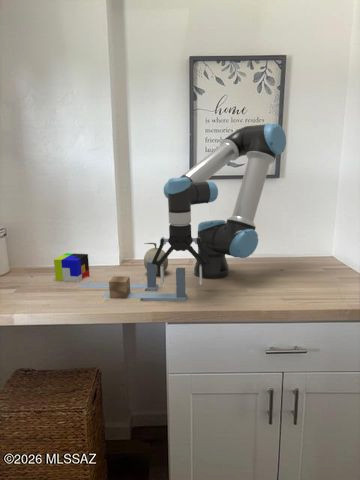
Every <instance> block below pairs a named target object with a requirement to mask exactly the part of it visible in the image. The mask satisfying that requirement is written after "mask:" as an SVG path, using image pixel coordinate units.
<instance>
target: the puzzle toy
mask: <svg viewBox="0 0 360 480" xmlns="http://www.w3.org/2000/svg"><path fill="white" fill-rule="evenodd" d="M89 263H90V262H89V254H88V253H69V252H68V253H64V254H62V255H60V256H58V257H55V258H54V259H53V264H54V265H53V267H54V276H55V281H58V282H74V283H79V282H81V280H83V279H85V278H86V277H90V265H89Z"/></svg>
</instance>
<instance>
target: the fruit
mask: <svg viewBox="0 0 360 480" xmlns="http://www.w3.org/2000/svg"><path fill="white" fill-rule="evenodd" d="M144 244H145V245H153V246H154V247H152V248H150V249H148V250H147V251H146V252H145V254H144V257H143V264H144V268H145V270H146V271H147V263H146V262H147V261H148V260H153V259H154V257H155V254H156V252H157V250H158V248H159V247H157V243H156V242H146V243H144ZM165 253H166V251H164V250H163V249H162V250H161V252H160V254H159V256H158V259H157V261H159V260H160V259H161V258H162V256H163V255H164V254H165ZM168 257H169V256H168ZM168 257H167V258H166V259H165V260H164V261H163V263H162V264H163V266H164V272H166V270H167V269H168V265H169V258H168ZM158 275H160V274H158V271H157V265H156V276H158Z"/></svg>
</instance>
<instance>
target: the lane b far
mask: <svg viewBox="0 0 360 480" xmlns="http://www.w3.org/2000/svg"><path fill="white" fill-rule="evenodd" d="M78 288H85V289H86V288H87V289H88V288H89V289H92V288H94V289H109V282H105V283H104V282H103V283H101V282H99V283H98V282H83V283H81V284H80V286H79V287H78Z"/></svg>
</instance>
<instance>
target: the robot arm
mask: <svg viewBox="0 0 360 480" xmlns="http://www.w3.org/2000/svg"><path fill="white" fill-rule="evenodd" d="M286 145H287V136H286V134H285V130H284V128H283V127H282V126H281V125H280V124H278V123H270V122H269V123H266V124H256V125H247V126H244V127H241V128H239V129H237V130H236V131H234V132H232V133H231V134H229V135H227V137H226V138H224V139H223V140H222V141H221V142H220V143H219V146H218V147H216V148H215V149H214V150H213V151H212V152H211V153H209V154H208V155H207V156H205V157H204V158H203V159H201V160H200V161H199V162H197V163H196V164H195V165H194V166H192V167H191V168H190V169H189V170H187V171H186V172H185V173H184V174H182V175H181V176H180V177H172V178H169V179H168V181H166V183H165V184H164V186H163V194H164V197H165V198H166V199H167V203H168V205H167V206H168V224H169V225H168V231H169V238H166V237H164V236H162V237H161V238H160V240H159V247H157V248H158V250H157V252H156V254H155V257H154V259H153V261H152V264H155V265H157V271H158V274H159V275H160V284H161V285H164V283H165V271H164V266H163V264H162V263H163V261H164V260H165V259H166V258H167V257H169V255H170V254H171V253H172V252H173V251H176V252H179V251H181V252H186V251H188V252H189V253H190V254H191V255H192V256H193V257H194V258H195V260H196V261H195V265H194V268H193V274H194V275H195V276H197V277H198V278H199V285H202V284H203V279H208V280H209V279H211V280H213V279H222V278H225V277H228V276H229V275H230V268H229V264H228V260H227V259H226V255H227V256H231V257H234V258H241V259H245V258H246V259H247V258H249V257H250V256H251V255H252V254H254V252H255V251H256V249H257V247H258V244H259V234H258V233H257V232H256V227H257V226H256V225H255V223H254V221H255V220H254V219H255V217H256V214H257V211H258V210H257V209H258V207H259V203H260V200H261V197H262V196H261V195H262V192H263V188H264V185H265V182H266V180H267V179H266V178H267V175H268V172H269V170H270V165H271V164H274V163H275V161H276V159H277V158H276V157H277V155H281V154H282V153H283V152H284V151H285V149H286ZM244 156H246V158H247V164H246V167H245V170H244V174H243V178H242V181H241V184H240V188H239V191H238V195H237V197H236V202H235V205H234V209H233V211H232V216H231V217H229V218H227V219H226V220H224V219H218V220H217V219H216V220H215V219H214V220H206V221H205V220H204V221H201V222H199V224H198V225H197V237H192V224H191V222H192V209H191V208H192V206H194V205H202V204H209V203H213V202H215V201H216V200H217V198H218V197H219V189H218V186H217V184H216V183H215V182H213V181H208V180H209V179H210V178H211V177H212V176H214V175H216V173H217V172H219V171H220V170H221V169H223V168H224V167H225V166H226V165H228V164H229V163H230V162H231V161H236V160H237V159H238V158H241V157H244ZM167 243H168V244H169V248H168V249H167V250H166V251H165V254H164V255H163V256H162V258H161V259H160V260H159V261H157V259H158V256H159V254H160V252H161V250H163V248H164V246H165V245H166V244H167ZM193 243H194V244H195V245H197V251H196V250H195V248H193V246H192V244H193Z"/></svg>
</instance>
